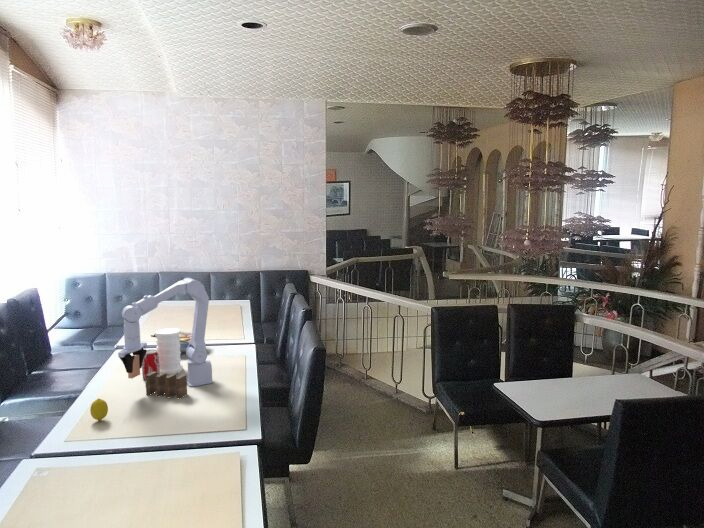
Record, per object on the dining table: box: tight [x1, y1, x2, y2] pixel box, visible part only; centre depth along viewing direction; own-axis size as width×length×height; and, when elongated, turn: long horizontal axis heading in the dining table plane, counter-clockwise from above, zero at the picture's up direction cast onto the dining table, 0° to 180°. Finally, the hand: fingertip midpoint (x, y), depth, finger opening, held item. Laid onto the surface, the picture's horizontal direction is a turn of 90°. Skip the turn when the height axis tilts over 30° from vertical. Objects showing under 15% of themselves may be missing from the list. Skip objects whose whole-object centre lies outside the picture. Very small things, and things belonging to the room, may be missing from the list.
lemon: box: [89, 398, 109, 422], centre depth 189 cm, size 6×6×8 cm
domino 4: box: [175, 374, 188, 400], centre depth 212 cm, size 2×5×8 cm, turn 164°
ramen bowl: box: [150, 331, 192, 354], centre depth 274 cm, size 25×23×8 cm
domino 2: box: [155, 373, 168, 397], centre depth 214 cm, size 2×5×8 cm, turn 164°
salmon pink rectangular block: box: [127, 355, 141, 379], centre depth 213 cm, size 2×5×8 cm, turn 165°
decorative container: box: [154, 327, 184, 375], centre depth 243 cm, size 12×12×18 cm
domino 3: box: [165, 373, 178, 398], centre depth 213 cm, size 2×5×8 cm, turn 164°
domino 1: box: [145, 372, 157, 396], centre depth 215 cm, size 2×5×8 cm, turn 164°
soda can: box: [141, 349, 160, 381], centre depth 232 cm, size 7×7×12 cm
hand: (134, 370), depth 213 cm, fingers closed on salmon pink rectangular block, 5 cm apart
